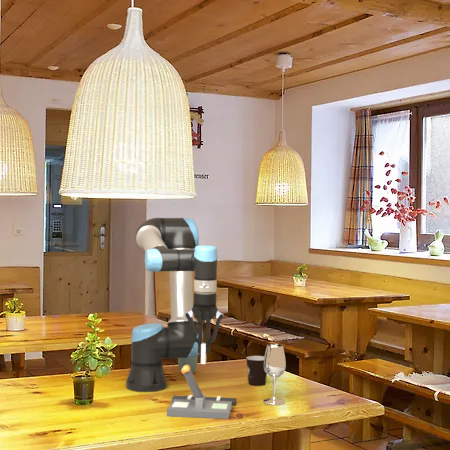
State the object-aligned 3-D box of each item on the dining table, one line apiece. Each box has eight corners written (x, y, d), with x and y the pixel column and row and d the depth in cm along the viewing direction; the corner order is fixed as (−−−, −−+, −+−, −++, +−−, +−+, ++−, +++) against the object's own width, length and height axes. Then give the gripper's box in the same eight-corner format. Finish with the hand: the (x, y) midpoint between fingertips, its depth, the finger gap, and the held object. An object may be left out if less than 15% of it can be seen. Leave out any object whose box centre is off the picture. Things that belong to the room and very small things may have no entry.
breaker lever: (196, 404, 248) (179, 369, 248) (198, 401, 252) (181, 366, 252) (204, 401, 247) (186, 365, 248) (205, 398, 251) (188, 363, 251)
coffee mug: (266, 387, 284) (267, 361, 284) (244, 385, 286) (244, 359, 286) (270, 380, 296) (271, 355, 295) (249, 379, 297) (249, 353, 297)
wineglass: (289, 402, 264) (290, 345, 263) (275, 406, 258) (277, 348, 257) (272, 398, 269) (273, 342, 268) (258, 402, 263) (259, 345, 262)
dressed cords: (171, 403, 259) (171, 397, 259) (173, 399, 264) (173, 394, 264) (235, 406, 257) (235, 400, 257) (236, 402, 262) (236, 396, 262)
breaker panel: (166, 416, 243) (167, 400, 243) (173, 404, 257) (173, 389, 257) (228, 418, 242) (228, 402, 242) (231, 407, 256) (232, 392, 255)
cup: (195, 376, 301) (195, 351, 301) (176, 374, 302) (176, 350, 302) (198, 371, 309) (199, 347, 308) (180, 370, 310) (180, 346, 310)
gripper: (183, 293, 245) (182, 364, 246) (223, 294, 244) (221, 366, 245) (187, 290, 253) (185, 359, 254) (225, 291, 251) (224, 361, 253)
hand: (203, 363), depth 250 cm, fingers closed
